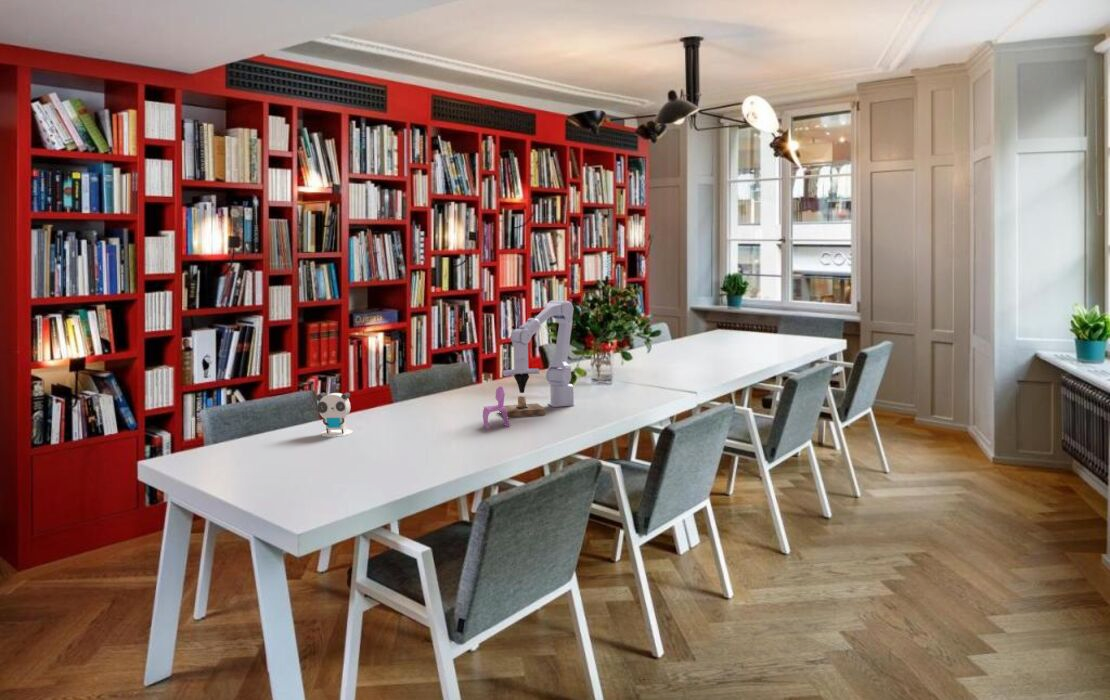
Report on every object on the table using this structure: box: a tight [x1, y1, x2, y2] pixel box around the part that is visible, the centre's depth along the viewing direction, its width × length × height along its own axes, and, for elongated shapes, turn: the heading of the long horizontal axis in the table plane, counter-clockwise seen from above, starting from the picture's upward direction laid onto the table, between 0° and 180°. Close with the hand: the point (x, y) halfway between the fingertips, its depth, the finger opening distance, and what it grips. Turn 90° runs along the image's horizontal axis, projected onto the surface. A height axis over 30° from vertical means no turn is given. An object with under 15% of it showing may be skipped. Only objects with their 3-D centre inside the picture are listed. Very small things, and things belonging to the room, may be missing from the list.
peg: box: [517, 395, 527, 409], centre depth 328 cm, size 3×3×7 cm
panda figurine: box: [316, 392, 353, 438], centre depth 298 cm, size 12×11×15 cm
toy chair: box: [482, 386, 511, 430], centre depth 305 cm, size 8×9×15 cm
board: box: [498, 403, 546, 418], centre depth 328 cm, size 16×12×2 cm
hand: (521, 392), depth 328 cm, fingers closed
